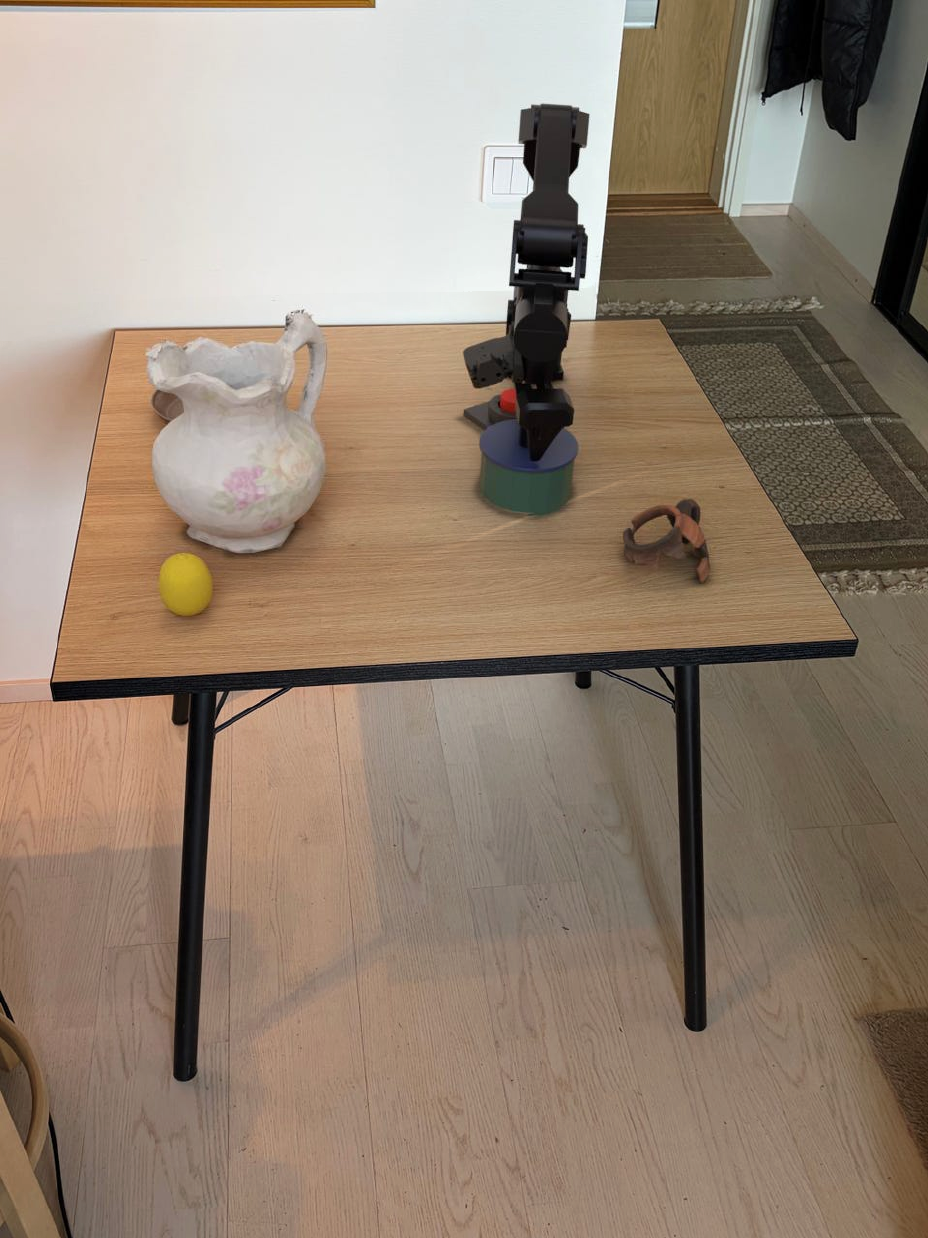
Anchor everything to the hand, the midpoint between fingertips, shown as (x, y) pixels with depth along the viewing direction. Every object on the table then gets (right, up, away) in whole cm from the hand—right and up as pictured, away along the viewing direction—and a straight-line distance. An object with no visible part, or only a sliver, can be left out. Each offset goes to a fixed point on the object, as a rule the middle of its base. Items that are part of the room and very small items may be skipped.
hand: (529, 441), depth 143 cm
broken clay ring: (+16, -15, -6) cm, 23 cm away
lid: (0, -1, +1) cm, 1 cm away
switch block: (-1, +4, +17) cm, 18 cm away
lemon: (-38, -21, -17) cm, 47 cm away
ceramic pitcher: (-33, -10, -3) cm, 35 cm away
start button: (-1, +7, +15) cm, 17 cm away
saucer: (-43, +6, +16) cm, 46 cm away
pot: (0, -6, +5) cm, 7 cm away
